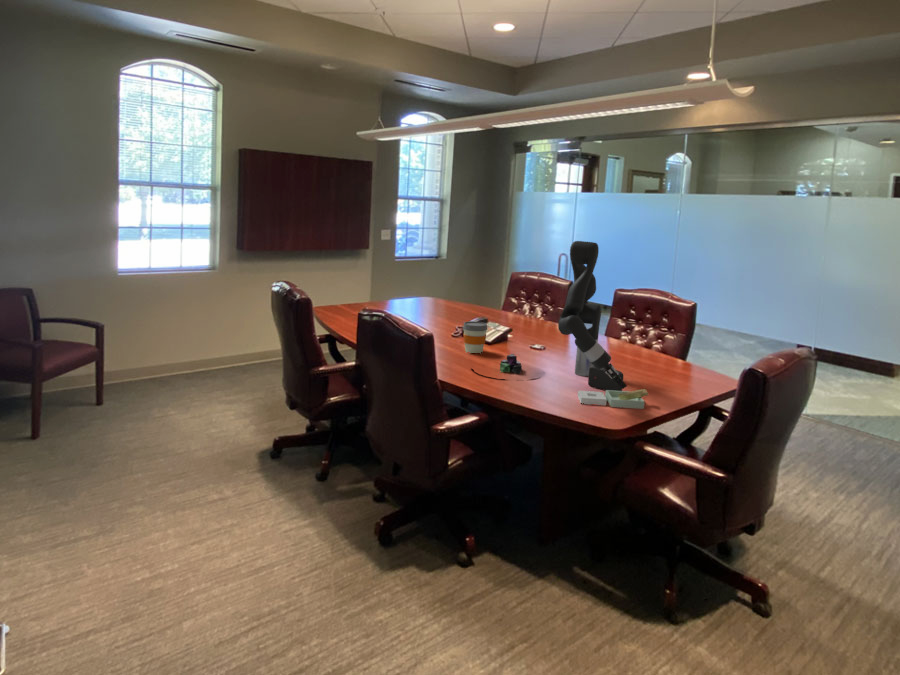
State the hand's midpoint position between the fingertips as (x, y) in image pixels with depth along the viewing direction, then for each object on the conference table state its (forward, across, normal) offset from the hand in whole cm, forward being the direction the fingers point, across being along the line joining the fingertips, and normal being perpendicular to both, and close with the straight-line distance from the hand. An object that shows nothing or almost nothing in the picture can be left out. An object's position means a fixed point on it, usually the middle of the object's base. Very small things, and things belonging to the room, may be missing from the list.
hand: (622, 384), depth 261 cm
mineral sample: (-26, +40, +38) cm, 61 cm away
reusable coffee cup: (-38, +74, +49) cm, 97 cm away
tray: (+6, 0, +5) cm, 8 cm away
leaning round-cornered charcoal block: (+3, +17, +8) cm, 19 cm away
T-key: (+4, 0, +5) cm, 6 cm away
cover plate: (-3, 0, +14) cm, 14 cm away
